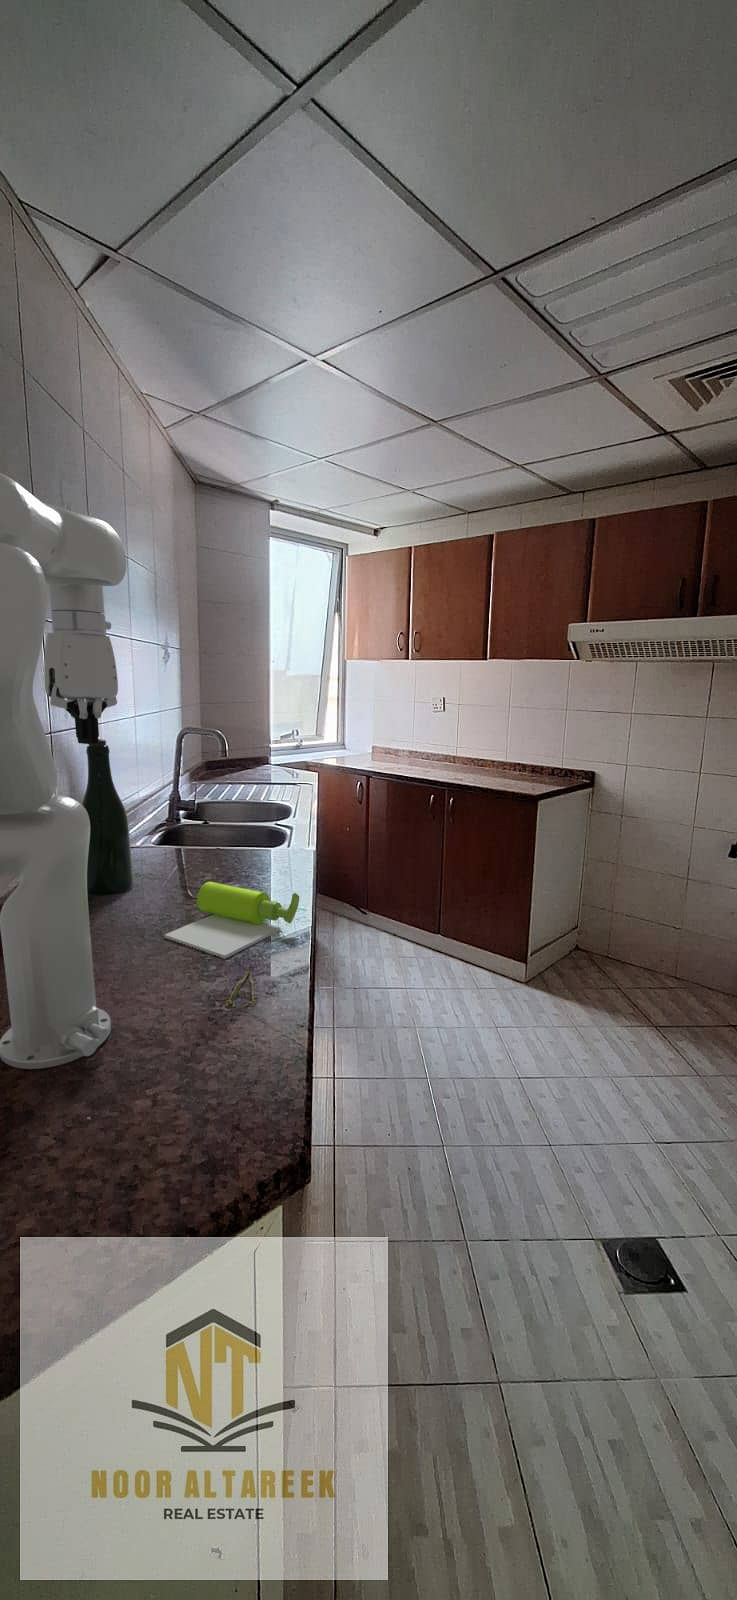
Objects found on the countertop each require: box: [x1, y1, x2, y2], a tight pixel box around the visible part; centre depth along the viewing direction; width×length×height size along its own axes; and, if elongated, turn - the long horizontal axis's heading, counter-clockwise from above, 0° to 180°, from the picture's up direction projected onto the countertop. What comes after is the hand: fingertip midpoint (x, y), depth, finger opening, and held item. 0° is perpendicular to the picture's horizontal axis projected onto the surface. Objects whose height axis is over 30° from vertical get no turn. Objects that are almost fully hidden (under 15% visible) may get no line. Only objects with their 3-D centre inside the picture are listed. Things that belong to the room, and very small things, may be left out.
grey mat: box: [164, 913, 281, 960], centre depth 108 cm, size 15×14×1 cm
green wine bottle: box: [81, 738, 134, 897], centre depth 127 cm, size 10×10×33 cm
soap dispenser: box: [196, 881, 300, 924], centre depth 113 cm, size 6×7×20 cm
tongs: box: [225, 964, 257, 1008], centre depth 90 cm, size 4×13×2 cm, turn 8°
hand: (88, 743), depth 96 cm, fingers closed
